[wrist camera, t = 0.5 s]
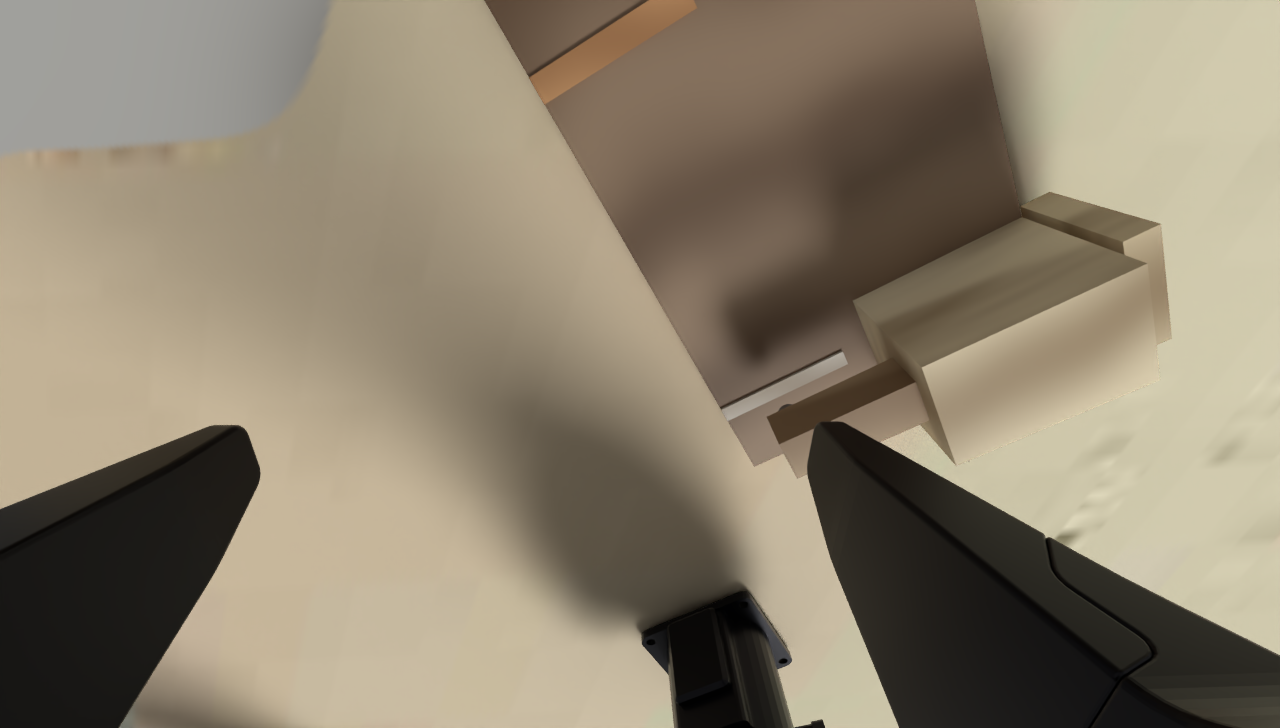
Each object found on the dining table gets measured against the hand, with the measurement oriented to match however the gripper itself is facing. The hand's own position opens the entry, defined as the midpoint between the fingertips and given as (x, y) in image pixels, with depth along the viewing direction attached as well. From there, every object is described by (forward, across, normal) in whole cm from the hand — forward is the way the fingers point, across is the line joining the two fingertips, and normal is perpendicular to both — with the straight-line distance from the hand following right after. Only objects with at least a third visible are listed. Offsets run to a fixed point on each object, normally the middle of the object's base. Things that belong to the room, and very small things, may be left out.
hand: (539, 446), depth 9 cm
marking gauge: (+12, -12, +3) cm, 17 cm away
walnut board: (+13, -7, -3) cm, 15 cm away
